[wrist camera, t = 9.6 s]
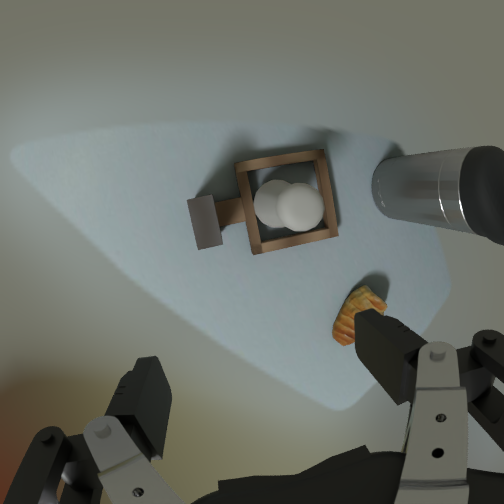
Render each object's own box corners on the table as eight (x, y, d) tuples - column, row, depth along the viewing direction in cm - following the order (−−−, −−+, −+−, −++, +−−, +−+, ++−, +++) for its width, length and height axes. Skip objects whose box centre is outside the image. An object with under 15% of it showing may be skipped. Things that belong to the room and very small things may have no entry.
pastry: (349, 347, 42) (359, 358, 39) (319, 329, 41) (328, 340, 37) (384, 300, 42) (397, 308, 38) (357, 278, 40) (369, 285, 36)
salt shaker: (257, 175, 35) (280, 164, 23) (300, 187, 36) (342, 183, 24) (246, 220, 36) (263, 233, 24) (289, 230, 37) (325, 248, 25)
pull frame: (319, 150, 35) (345, 140, 28) (334, 234, 38) (362, 244, 30) (187, 174, 34) (180, 167, 26) (207, 262, 36) (205, 280, 29)
